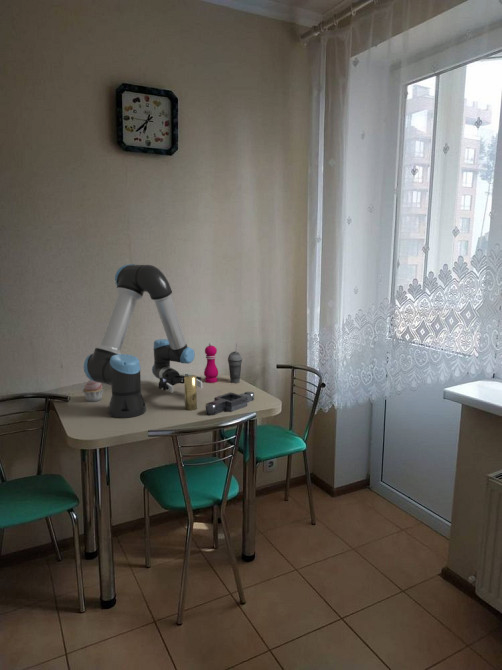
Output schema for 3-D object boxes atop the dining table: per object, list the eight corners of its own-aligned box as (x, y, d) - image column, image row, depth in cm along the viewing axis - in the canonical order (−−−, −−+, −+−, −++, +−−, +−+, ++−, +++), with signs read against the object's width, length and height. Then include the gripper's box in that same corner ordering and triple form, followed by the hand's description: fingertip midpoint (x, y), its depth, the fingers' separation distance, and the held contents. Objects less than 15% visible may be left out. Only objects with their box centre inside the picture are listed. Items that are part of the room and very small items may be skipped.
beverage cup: (233, 379, 251) (232, 341, 247) (245, 381, 247) (244, 342, 244) (225, 382, 245) (224, 343, 241) (237, 384, 241) (237, 345, 237)
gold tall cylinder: (190, 411, 203) (189, 378, 200) (182, 408, 206) (181, 376, 203) (199, 408, 207) (198, 376, 204) (191, 405, 210) (190, 374, 207)
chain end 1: (216, 417, 195) (215, 408, 194) (198, 412, 202) (198, 403, 201) (247, 405, 210) (247, 396, 209) (230, 401, 216) (230, 392, 215)
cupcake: (108, 397, 222) (107, 375, 220) (99, 403, 213) (97, 381, 211) (89, 396, 223) (87, 375, 222) (79, 402, 214) (77, 380, 213)
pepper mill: (217, 383, 244) (217, 344, 240) (203, 383, 244) (202, 344, 240) (219, 379, 251) (218, 341, 247) (205, 379, 251) (204, 341, 247)
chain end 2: (231, 411, 202) (231, 404, 202) (214, 406, 208) (214, 399, 208) (261, 400, 216) (261, 394, 216) (244, 396, 223) (244, 389, 222)
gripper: (194, 380, 235) (213, 391, 217) (144, 387, 223) (160, 400, 205) (193, 365, 234) (213, 375, 216) (143, 371, 222) (159, 383, 204)
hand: (187, 387), depth 210 cm, fingers open, 13 cm apart
